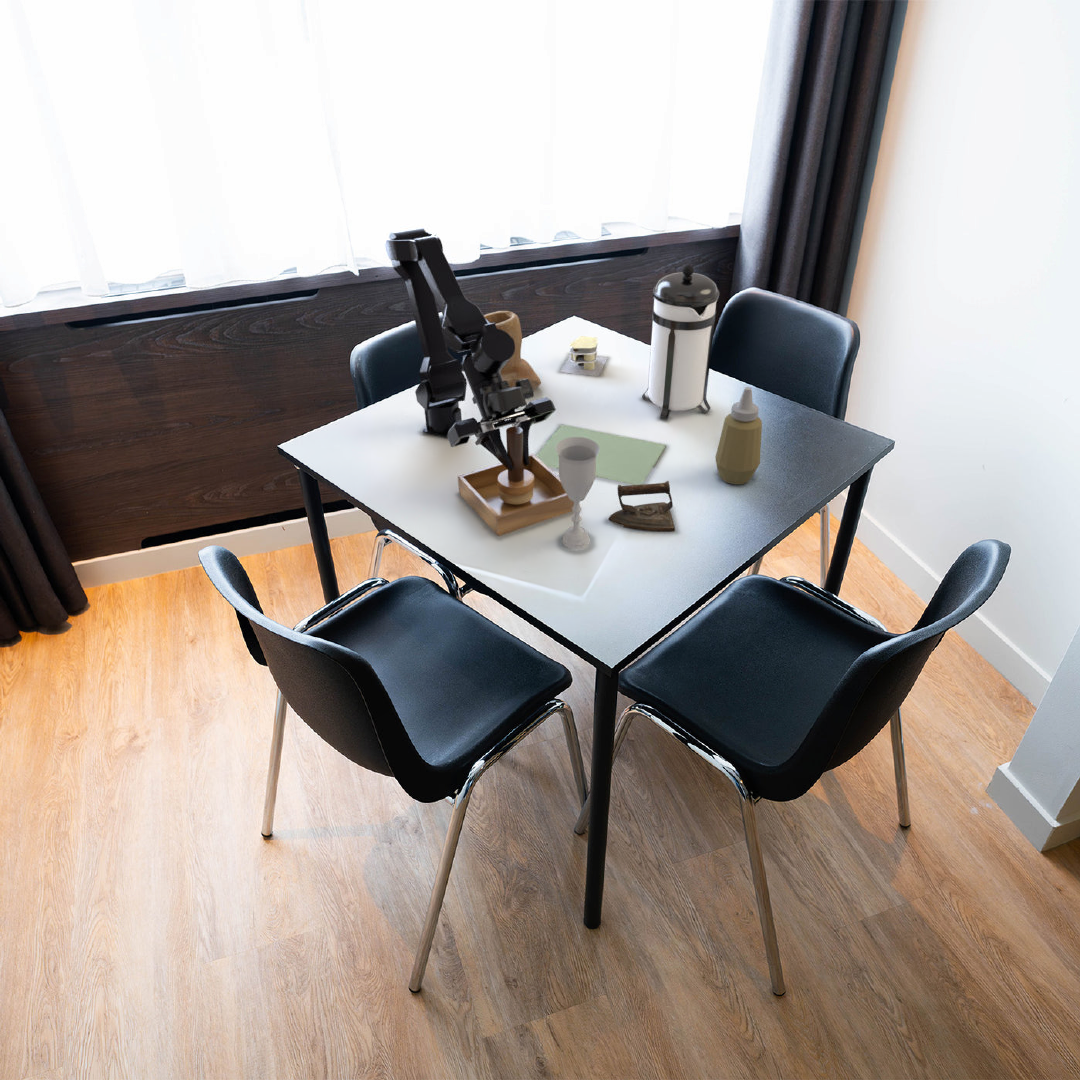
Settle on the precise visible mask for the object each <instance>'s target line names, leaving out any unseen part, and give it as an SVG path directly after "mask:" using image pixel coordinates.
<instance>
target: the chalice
mask: <svg viewBox="0 0 1080 1080" xmlns="http://www.w3.org/2000/svg"><path fill="white" fill-rule="evenodd" d="M556 452H557V454H558V456H559V469H558V476H559V478H560V481H561V484H562V486H563V488H564V490H565V492H566V494H567V496H568V497H569V499H570V500H572V501H574V506H573V507H572V511H571V512H572V513H573V515H572V516H571V517H570V519H571V521H572V523H573V525H572V526H570V527H568V528H567V530H565V532H564V535H563V537H562V540H561V541H562V544H563V545H564V546H565V547H566V548H569V549H571V550H581V549H585V548H586V547H588V546H589V544H590V543H591V538H590V536H589V534H588V531H587V530H586V529H585V528H584V527H582V526H580V522H581V521H582V520H583V519H582V516H581V515H580V513H581V512H582V507H581V504H580V502H583V501H584V500H585V499H586V497H587V495H588V494H589V492H590V491H591V489H592V487H593V485H594V482H595V480H596V456H597V455H598V453H599V446H598V444H597V443H596V442H594V441H593V440H590V439H588V438H583V437H571V438H566V439H564V440H562V441H560V442H559V443H558V444H557V445H556Z"/></svg>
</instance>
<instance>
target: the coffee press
mask: <svg viewBox="0 0 1080 1080" xmlns="http://www.w3.org/2000/svg"><path fill="white" fill-rule="evenodd" d="M652 297H653V300H654V301H653V306H652V312H651V319H652V326H651V337H650V340H651V341H650V352H649V353H650V355H649V368H648V379H647V380H648V382H647V389H646V391H645V392H644V393H643V394H642V395H641V398H642V400H643V401H649V400H650V401H651V402H652V403H653V405H655V406H657V407H659V408H661V412H660V415H659V419H660V420H664V421H667V420H669V416H670V413H671V412H672V411H687V410H692V409H695V408H698V410H700V412H701V413H702V414H704V415H705V414H708V413H709V412H710V410H711V406H710V403H709V402H708V400H707V394H708V393H707V392H708V385H709V376H710V367H711V357H712V348H713V342H714V341H713V340H714V332H715V322H716V320H717V319H716V318H717V302H718V300H719V298H720V290H719V289H718V287H717V283H715V281H714V280H713V279H712V278H710V277H708V276H706V275H704V274H700V273H695V268H694V266H693V265H692V264H690V263H689V264H685V265H684V266H683V267H682V268H681V272H674V273H670V274H667V275H665V276H663V277H662V278H660V279H659V280H658V282H657V283H656V285H655V286H654V287H653V288H652ZM646 393H647V395H648V396H647V395H646ZM701 404H704V406H705V407H706V409H705V408H704V406H703V405H701Z"/></svg>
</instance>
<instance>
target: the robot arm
mask: <svg viewBox="0 0 1080 1080" xmlns="http://www.w3.org/2000/svg"><path fill="white" fill-rule="evenodd" d="M384 246H385V248H384V249H385V253H386V255H387V257H388V259H390V263H391V266H392V268H393V270H394V271H395V272H396V273H397V274H398V276H399V277H401V279H403V280H404V282H405V286H406V290H407V294H408V298H409V302H410V306H411V310H412V314H413V318H414V322H415V325H416V326H415V327H416V331H417V335H418V338H419V343H420V347H421V350H422V354H423V360H422V362H421V366H420V370H419V377H420V383H419V384H418V386H417V388H416V389H415V391H414V393H415V397H416V401H417V403H418V404H419V405H420V406H421V407H422V408H423V409H424V418H425V427H423V429H422V430H421V431H422V433H423V434H426V435H427V434H428V435H432V436H436V437H437V436H438V437H442V438H447V440H448V443H449V445H450V448H456V447H458V446H462V445H466V444H468V442H469V440H470V438H471V437H472V436H475V438H476V439H477V440H476V441H474V444H475V445H476V446H479V445H480V446H482V447H483V448H484V449H486V450H487V451H488V452H489V453H490V454H491V455H493V456H494V458H496V459H497V460H498V461H499V463H502V464H503V465H504V466H505V467H506V468H507V469H508V470H509V471H512V470H513V467H512V463H511V460H510V458H509V456H508V454H507V448H506V447H505V445H504V442H503V440H502V436H501V435H502V434H501V429H500V428H503V427H506V426H509V425H510V426H511V427H514V426H516V427H520V428H522V429H523V459H524V465H525V466H528V465H529V454H530V451H529V448H530V447H529V437H530V429H531V427H532V425H535V424H538V423H541V422H544V421H546V420H547V419H548V418H549V417H550V416H551V415H552V414H553V413H555V412H556V411H557V409H556V407H555V404H554V402H553V401H552V400H551V399H550V398H549V397H548V396H545V397H542V398H538V399H534V400H531V401H529V402H528V403H527V399H531V398H533V397H534V388H532V385H531V383H530V381H529V379H523V380H519V381H516V387H512V388H510V386H509V384H508V382H507V380H505V381H503V379H502V376H501V374H500V371H501V370H502V368H503V367H504V366H505V365H506V363H507V362H508V361H509V360H510V358H511V357H512V356H513V354H514V351H515V343H514V340H513V338H511V336H510V335H509V334H508V333H507V332H505V331H503V330H500V329H497V327H496V324H495V323H490V322H489V321H488V320H487V319H485V317H484V315H485V314H483V312H482V311H481V309H480V307H479V306H478V305H476V304H475V303H473V302H472V301H470V300H469V299H467V298H466V296H465V294H464V291H463V290H462V287H461V285H460V284H459V282H458V279H457V278H456V275H455V273H454V271H453V269H452V267H451V265H450V263H449V262H448V261H449V260H448V259H447V256H446V255H445V253H444V247H443V243H442V240H441V239H440V237H439V236H437V233H436V232H428V231H426V230H425V229H424V227H422V226H421V227H414V228H409V229H403V230H397V231H391V232H390V233H389V234H388V239H385V242H384ZM438 307H439V309H440V311H441V314H442V317H443V318H442V321H441V318H440V313H439V310H438ZM448 348H449V349H450V350H451V352H452V353H454V352H455V353H457V354H458V353H462V352H466V351H470V352H469V353H468V354H465V355H462V361H461V362H460V361H459V360H458V359H455V358H454V357H453V356H452V355H451V354H450V353H449V351H448V350H449V349H448ZM463 372H464V373H463ZM467 382H468V383H467ZM467 384H468V385H469V388H470V391H471V393H472V395H473V397H472V398H471V400H472V403H473V405H477V408H478V411H479V413H480V416H481V419H480V421H478V420H477V419H476V418H475V417H473V416H472V417H470V418H466V419H462V409H461V407H460V406H459V405H460V404H459V403H460V402H465V401H466V394H467V386H468V385H467ZM520 408H522V409H520ZM518 409H519V410H518ZM516 410H517V411H516Z"/></svg>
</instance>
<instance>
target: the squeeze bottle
mask: <svg viewBox="0 0 1080 1080" xmlns="http://www.w3.org/2000/svg"><path fill="white" fill-rule="evenodd" d="M753 402H754V400H753V389H752V387H750V386H745V387H744V389H743V391H742V394H741V397H740V399H739V401H737V402H735V403H733V404H732V406H731V409H730V410H731V411H730V413H728V414H727V415H726V416H725V417H724V420H723V425H722V427H721V433H720V435H719V436H720V437H719V441H718V445H717V448H716V453H715V455H714V456H715V458H714V459H715V464H716V468H717V472H718V475H719V478H720V479H721V480H722V481H723V482H725V483H727V484H730V485H744V484H747V483H749V482H750V481H751V480H752V478H753V476H754V475H755V473H756V471H757V469H758V468H759V466H760V464H761V451H762V450H761V449H762V433H763V422H762V419H761V418H760V417H759V410H760V409H759V408H760V407H759V406H757V404H755V403H753Z"/></svg>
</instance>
